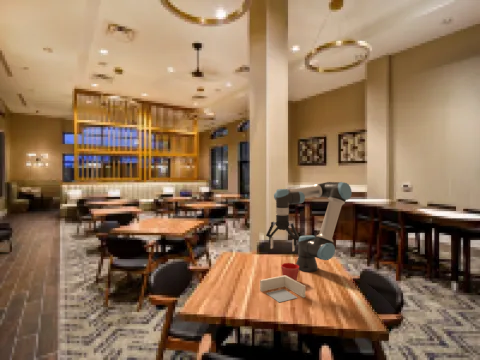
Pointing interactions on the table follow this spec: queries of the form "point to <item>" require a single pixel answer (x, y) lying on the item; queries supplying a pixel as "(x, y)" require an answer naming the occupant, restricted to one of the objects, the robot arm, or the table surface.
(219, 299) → the table surface
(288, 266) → the flower pot
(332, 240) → the robot arm
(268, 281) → the corner wall
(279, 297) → the pad
